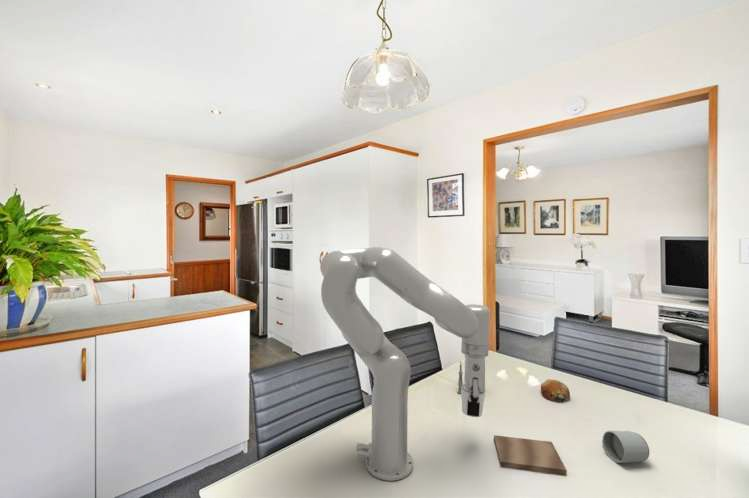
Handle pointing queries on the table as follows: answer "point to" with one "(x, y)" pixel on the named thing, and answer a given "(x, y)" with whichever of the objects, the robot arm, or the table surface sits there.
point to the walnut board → (528, 455)
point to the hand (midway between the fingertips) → (472, 409)
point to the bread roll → (555, 391)
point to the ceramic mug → (625, 446)
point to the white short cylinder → (466, 397)
